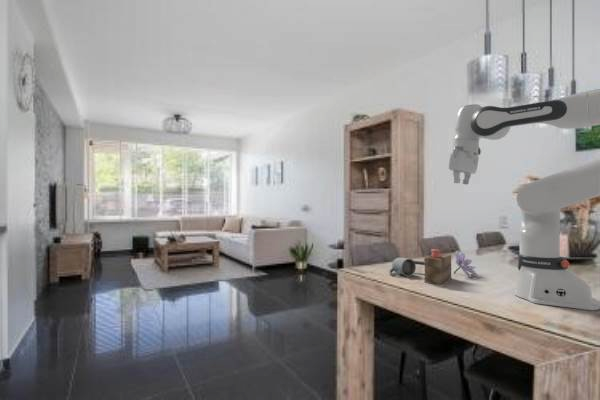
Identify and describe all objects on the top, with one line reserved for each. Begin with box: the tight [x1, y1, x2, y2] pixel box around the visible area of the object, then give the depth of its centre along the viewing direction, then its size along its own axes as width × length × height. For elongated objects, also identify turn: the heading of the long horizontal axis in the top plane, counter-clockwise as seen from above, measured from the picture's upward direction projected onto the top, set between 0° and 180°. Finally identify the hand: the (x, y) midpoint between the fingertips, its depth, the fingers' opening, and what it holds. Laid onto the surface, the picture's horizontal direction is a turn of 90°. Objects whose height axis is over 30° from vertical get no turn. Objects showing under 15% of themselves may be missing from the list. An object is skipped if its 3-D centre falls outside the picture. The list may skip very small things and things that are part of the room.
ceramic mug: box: [388, 257, 417, 277], centre depth 145 cm, size 11×8×8 cm
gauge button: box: [430, 248, 441, 258], centre depth 132 cm, size 3×3×6 cm
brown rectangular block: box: [423, 253, 452, 286], centre depth 134 cm, size 6×14×10 cm, turn 138°
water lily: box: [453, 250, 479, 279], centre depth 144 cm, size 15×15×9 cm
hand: (461, 183), depth 126 cm, fingers open, 8 cm apart
